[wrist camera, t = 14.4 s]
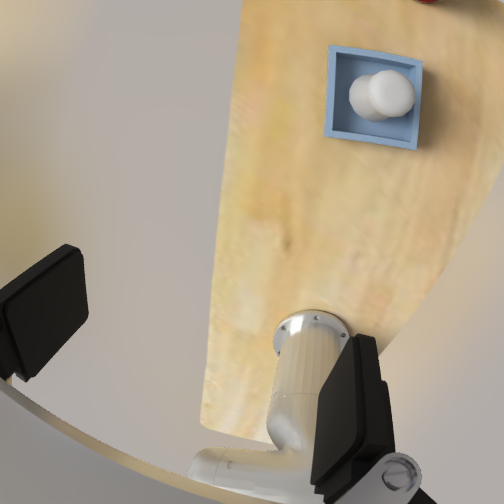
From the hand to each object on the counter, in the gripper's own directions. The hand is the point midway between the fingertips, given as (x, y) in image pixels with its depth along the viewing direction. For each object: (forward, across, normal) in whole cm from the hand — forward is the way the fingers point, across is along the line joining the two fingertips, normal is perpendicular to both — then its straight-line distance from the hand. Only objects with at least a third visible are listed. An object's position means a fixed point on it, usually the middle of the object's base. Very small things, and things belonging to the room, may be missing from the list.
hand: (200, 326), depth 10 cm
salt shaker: (+33, -8, -11) cm, 35 cm away
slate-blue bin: (+33, -8, -11) cm, 36 cm away
